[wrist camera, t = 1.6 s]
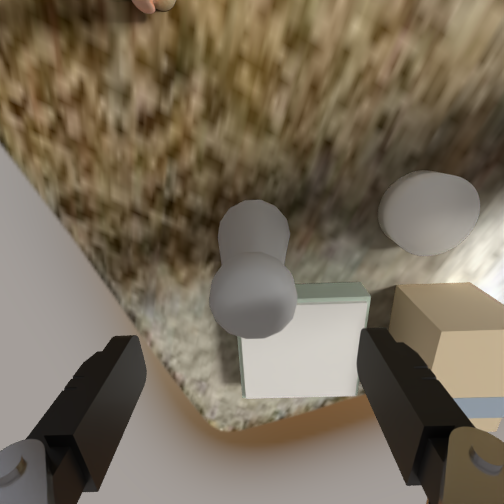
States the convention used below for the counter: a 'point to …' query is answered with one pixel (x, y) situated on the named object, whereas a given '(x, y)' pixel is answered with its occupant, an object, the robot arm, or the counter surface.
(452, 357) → the kraft carton
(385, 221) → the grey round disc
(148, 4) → the grandmother figurine
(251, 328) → the salt shaker
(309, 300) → the podium
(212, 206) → the counter surface
